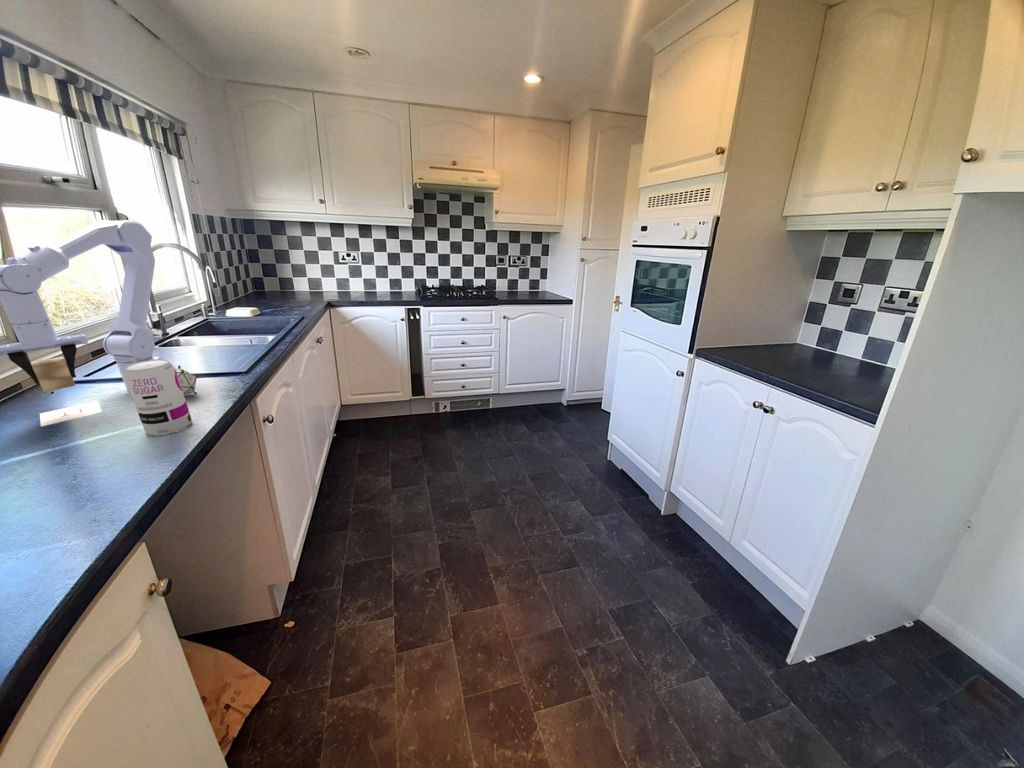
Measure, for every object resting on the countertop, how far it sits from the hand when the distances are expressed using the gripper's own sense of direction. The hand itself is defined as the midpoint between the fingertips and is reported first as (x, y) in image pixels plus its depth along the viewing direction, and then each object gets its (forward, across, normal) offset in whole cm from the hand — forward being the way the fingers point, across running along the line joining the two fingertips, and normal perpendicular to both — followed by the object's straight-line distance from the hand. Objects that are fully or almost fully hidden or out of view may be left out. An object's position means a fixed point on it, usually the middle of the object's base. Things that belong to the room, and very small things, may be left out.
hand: (56, 379), depth 94 cm
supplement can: (+9, -14, +26) cm, 31 cm away
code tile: (+9, 0, 0) cm, 9 cm away
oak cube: (+2, 0, 0) cm, 2 cm away
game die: (+9, -20, +7) cm, 23 cm away
